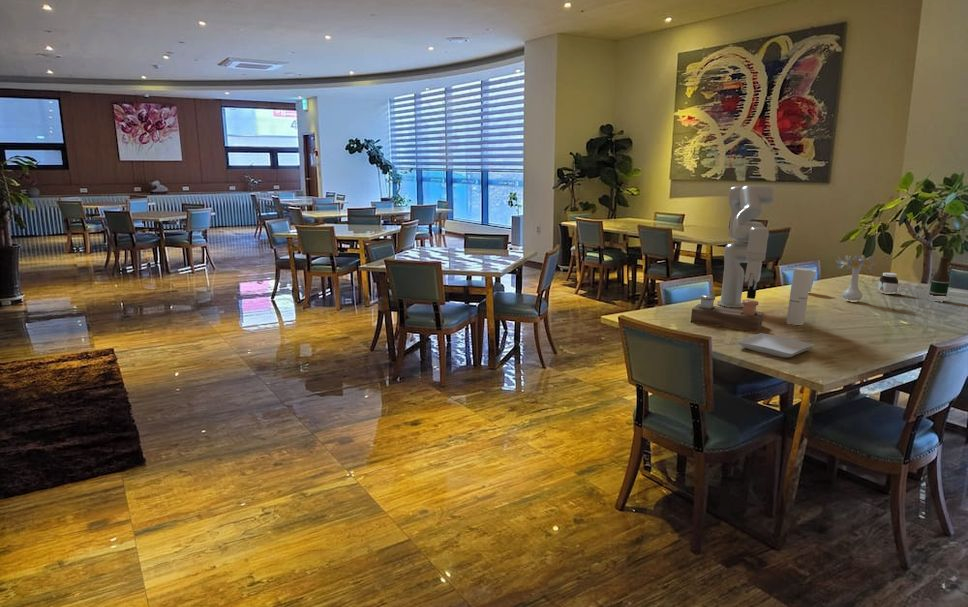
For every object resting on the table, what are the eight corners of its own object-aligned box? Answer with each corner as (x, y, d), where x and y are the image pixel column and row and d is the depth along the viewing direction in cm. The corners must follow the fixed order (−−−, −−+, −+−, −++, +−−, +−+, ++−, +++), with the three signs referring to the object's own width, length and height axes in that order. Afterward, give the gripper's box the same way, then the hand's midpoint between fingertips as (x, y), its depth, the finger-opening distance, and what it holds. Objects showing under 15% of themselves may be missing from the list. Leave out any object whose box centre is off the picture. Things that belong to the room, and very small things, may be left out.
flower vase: (833, 296, 339) (840, 251, 333) (872, 302, 327) (879, 255, 321) (827, 300, 329) (834, 254, 324) (867, 306, 317) (874, 258, 312)
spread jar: (874, 291, 356) (878, 271, 353) (895, 292, 355) (899, 272, 352) (886, 296, 344) (889, 275, 342) (907, 296, 343) (911, 276, 341)
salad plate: (760, 339, 252) (761, 331, 252) (814, 352, 237) (815, 343, 236) (734, 349, 239) (735, 340, 238) (790, 362, 223) (792, 353, 222)
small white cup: (700, 307, 283) (702, 293, 282) (715, 309, 280) (716, 295, 279) (697, 309, 278) (698, 296, 277) (712, 311, 275) (713, 298, 274)
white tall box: (805, 326, 274) (813, 270, 268) (788, 325, 275) (796, 270, 270) (801, 322, 281) (808, 268, 275) (784, 321, 282) (791, 267, 277)
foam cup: (797, 293, 345) (800, 270, 342) (792, 290, 354) (795, 268, 351) (815, 294, 344) (818, 271, 341) (809, 291, 353) (813, 269, 350)
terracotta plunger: (742, 312, 274) (744, 299, 273) (757, 314, 271) (759, 301, 270) (739, 315, 269) (741, 301, 268) (755, 317, 266) (757, 303, 264)
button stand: (697, 316, 288) (698, 304, 287) (761, 325, 274) (763, 312, 272) (690, 321, 278) (692, 308, 277) (757, 331, 264) (759, 317, 262)
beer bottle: (949, 302, 330) (957, 258, 325) (934, 302, 330) (942, 258, 325) (938, 299, 338) (947, 256, 332) (924, 299, 338) (932, 255, 332)
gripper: (749, 253, 272) (744, 294, 276) (743, 257, 260) (738, 300, 264) (767, 255, 268) (762, 296, 272) (762, 259, 256) (757, 302, 260)
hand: (750, 298), depth 268 cm, fingers closed
